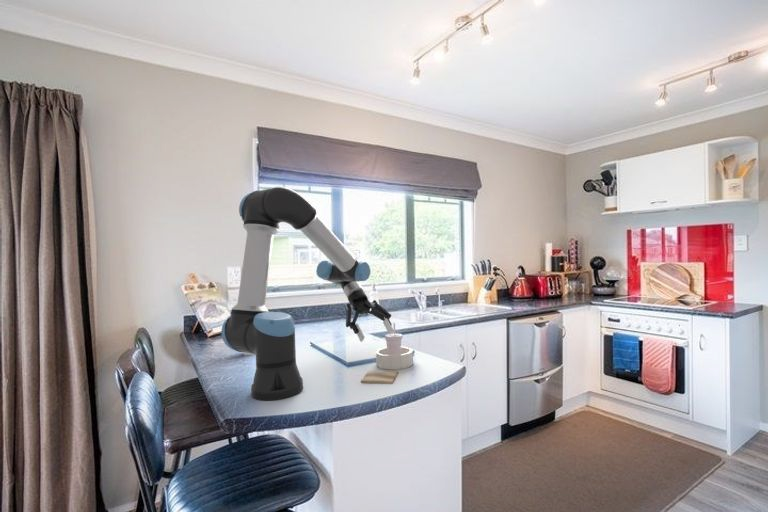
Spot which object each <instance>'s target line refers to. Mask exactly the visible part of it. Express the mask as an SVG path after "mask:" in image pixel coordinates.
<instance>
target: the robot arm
mask: <svg viewBox="0 0 768 512" xmlns="http://www.w3.org/2000/svg"><path fill="white" fill-rule="evenodd" d="M238 213H239V217H241V221H242V222H243V224H242V225H243V226H242V227H243V228H244V230H245V231H246V238H245V239H246V240H245V247H244V253H243V254H244V255H243V260H242V261H243V262H242V268H241V276H240V283H239V289H238V290H239V291H238V297H237V304H235V305H234V306H233V307H232V308H231V311H230V315H229V316H228V317H227V319H226V320H224V322H223V324H222V326H221V337H222V341H223V342H224V344H225V345H226V346H227V348H229V349H231V350H234V351H236V352H238V353H243V352H247V353H252V354H254V355H255V368H256V369H255V373H254V375H253V381H252V384H251V386H250V387H251V388H250V390H251V391H250V392H251V393H250V396H251V397H252V398H253V399H255V398H256V400H259V399H260V400H259V401H276V400H281V399H286V398H289V397H292V396H296V395H297V394H300V393H301V392H302V391H303V389H304V381H303V378H302V377H301V374H300V370H299V367H298V365H297V355H296V353H297V352H296V333H295V332H296V326H295V321H294V318H293V316H292V315H290V314H289V313H286V312H281V311H269V310H268V309H267V308H268V307H266V299H267V291H268V283H269V274H270V267H271V266H270V265H271V259H272V253H273V243H274V237H275V235H276V234H277V233H279V231H280V225H281V223H286V224H288V225H289V226H291V227H292V228H293V229H294V230H295V231H296V230H297V231H299V230H300V232H302V233H303V235H305V237H307V238H308V239H309V241H310V242H311V243H312V244H313V245H314V246H316V248H317V249H319V251H320V252H321V253H322V254H323V255H324V256H325V257H326V258H327V259H328V260H322V261H320V262H319V263H318V265H317V266H316V275H317V277H318V278H320V279H321V280H324V281H327V282H330V283H333V284H336V285H339V286H340V287H341V289H342V291H343V292H344V294H345V297H346V298H347V300H348V303H347V304H346V306H345V312H346V313H345V314H346V315H345V317H346V318H345V327H346V328H349V329H350V330H352V331H353V333H354V334H355V335H357V337H358V340H359V341H360V343H363V342H364V339H365V338H366V336H365V335H364V333H363V331H362V329H361V327H360V325H359V323H357V320H358V317H359V315H364V314H365V315H366V314H369V315H373V316H374V317H376V318H378V319H379V320H381V321H382V324H383V325H384V327H385V330H386V331H387V334H393V333H394V327H393V326H392V323H391V322H392V321H390V319H391V317H392V314H391V313H390V312H388V311H387V310H386V309H385V308H384V307H382V306H381V305H380V304H379V303H378V301H377V300H376V299H374V300H373V301H369V300H368V296H367V293H366V292H365V290H364V288H363V286H362V285H361V283H360V282H365V281H368V279H369V278H370V275H371V266H370V264H369V263H368V262H367V261H362V260H361V261H359V260H358V259H357V258H356V257H355V256H354V254H352V252H351V251H350V250H349V249H348V248H347V247H346V245H345V244H344V243H343V242H342V241H341V240H340V239H339V238H338V237H337V236H336V234H334V232H333V231H332V230H331V229H330V228H329V226H327V225H326V224H325V222H324V221H323V220H322V219H321V218H320V217H319V216H318V214H317V209H316V208H315V207H314V206H313V205H312V204H311V203H310V202H309V201H308V200H307V199H306V197H303V196H302V195H301V194H300V193H298V192H297V191H295V190H294V189H291V188H289V187H286V186H274V187H270V188H266V189H262V190H261V189H260V190H254V191H252V192H250V193H247V194H246V195H245V196H243V198H241V201H240V203H239V207H238ZM352 310H353V311H355V312H354V315H353V317H352Z"/></svg>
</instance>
